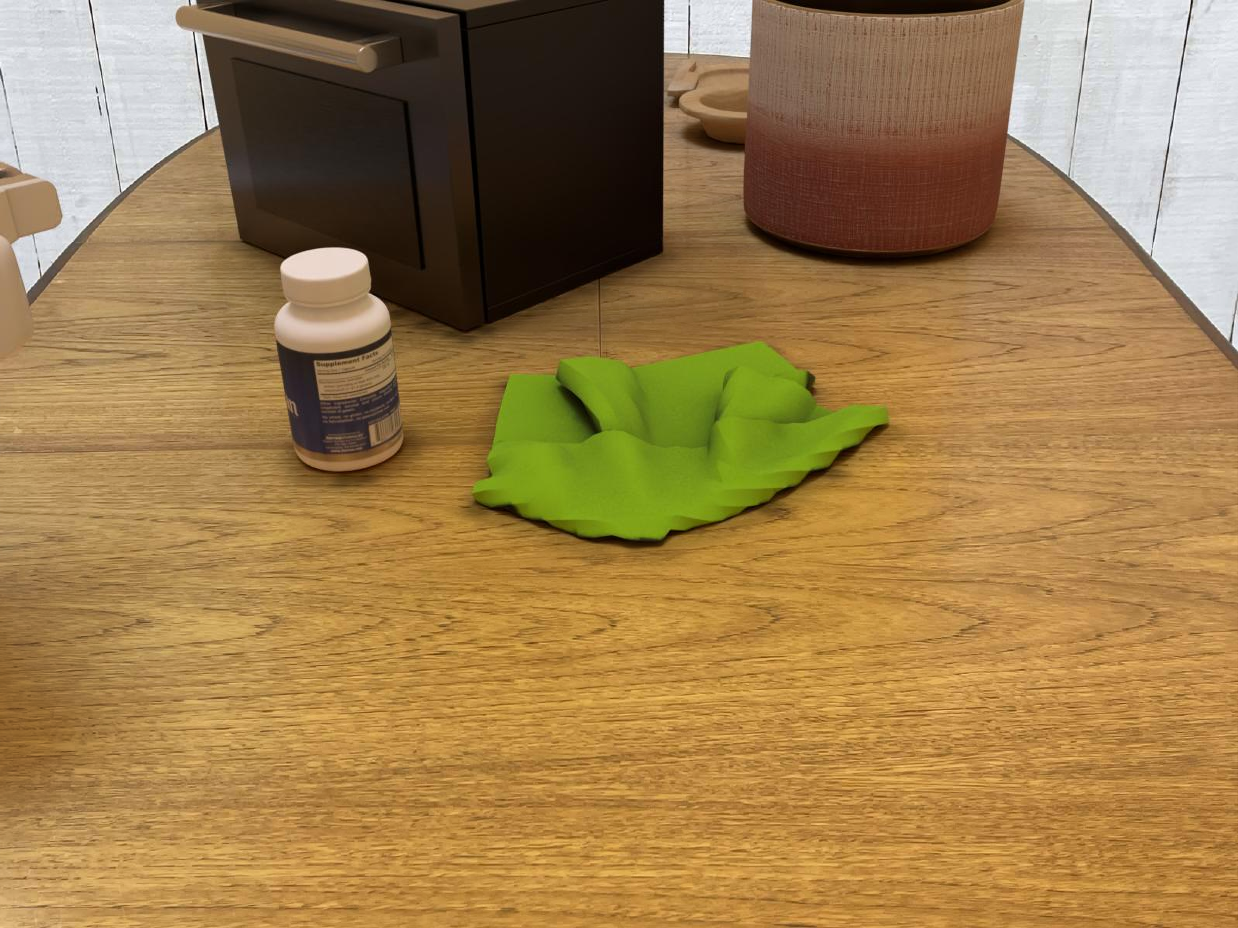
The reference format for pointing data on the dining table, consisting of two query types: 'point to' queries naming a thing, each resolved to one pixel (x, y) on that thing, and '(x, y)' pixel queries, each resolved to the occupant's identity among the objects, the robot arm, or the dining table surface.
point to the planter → (878, 122)
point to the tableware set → (714, 97)
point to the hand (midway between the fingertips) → (34, 190)
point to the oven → (561, 140)
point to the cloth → (661, 441)
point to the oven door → (350, 139)
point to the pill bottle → (337, 362)
